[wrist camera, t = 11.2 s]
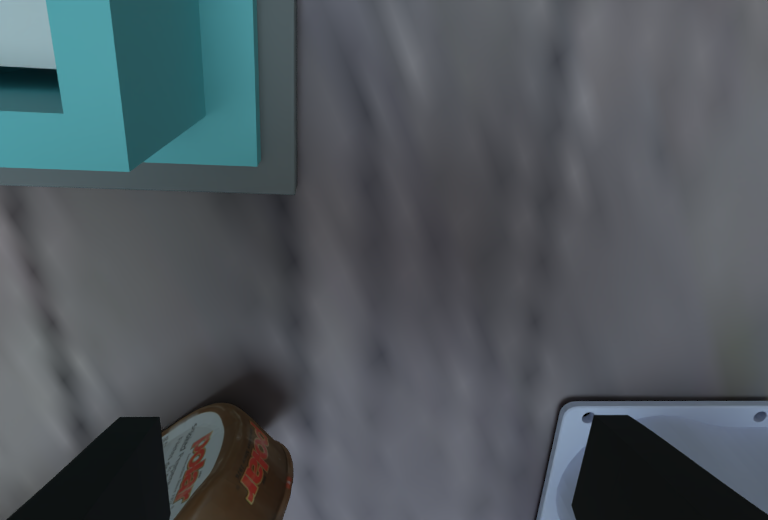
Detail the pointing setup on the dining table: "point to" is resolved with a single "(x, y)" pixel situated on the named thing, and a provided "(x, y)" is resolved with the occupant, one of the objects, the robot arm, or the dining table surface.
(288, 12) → the post block
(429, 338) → the dining table surface
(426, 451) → the dining table surface
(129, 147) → the flange
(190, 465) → the tin
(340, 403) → the dining table surface
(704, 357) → the dining table surface
